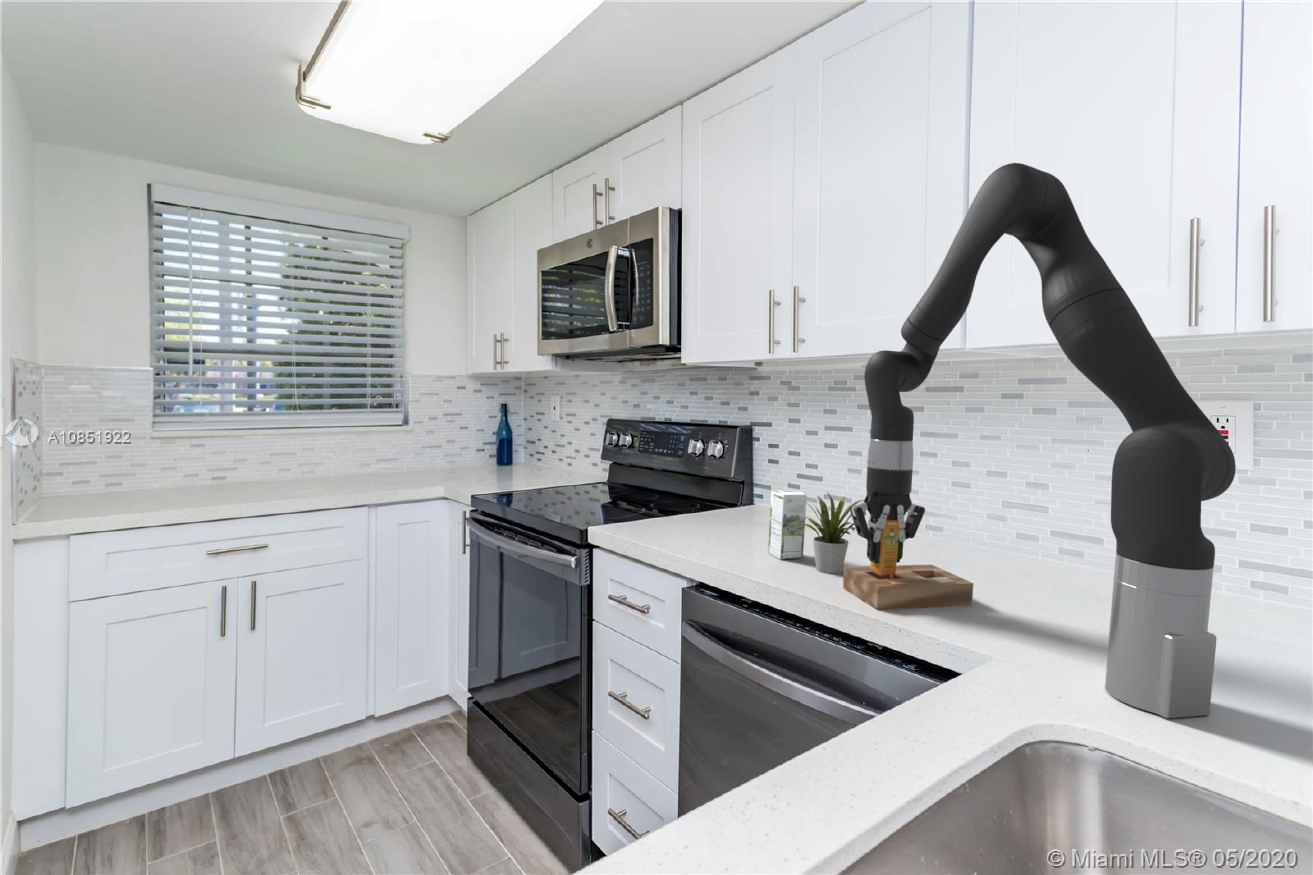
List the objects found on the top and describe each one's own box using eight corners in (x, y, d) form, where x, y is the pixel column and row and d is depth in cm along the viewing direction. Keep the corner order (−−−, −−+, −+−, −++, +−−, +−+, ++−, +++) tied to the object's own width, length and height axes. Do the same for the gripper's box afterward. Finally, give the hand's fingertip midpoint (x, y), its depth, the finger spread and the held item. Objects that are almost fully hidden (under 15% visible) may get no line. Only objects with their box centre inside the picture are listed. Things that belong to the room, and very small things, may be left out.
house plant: (886, 573, 131) (890, 493, 129) (845, 585, 122) (849, 499, 121) (827, 558, 142) (831, 484, 141) (786, 567, 133) (789, 489, 132)
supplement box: (881, 576, 113) (884, 520, 112) (869, 571, 116) (872, 516, 115) (897, 575, 114) (900, 519, 113) (885, 570, 117) (888, 515, 116)
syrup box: (790, 552, 146) (793, 488, 145) (804, 559, 141) (807, 493, 140) (767, 553, 144) (770, 489, 143) (780, 560, 139) (783, 493, 138)
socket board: (971, 605, 112) (973, 582, 112) (876, 609, 109) (878, 585, 108) (930, 585, 124) (931, 563, 123) (843, 587, 120) (844, 565, 120)
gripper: (863, 467, 109) (858, 568, 110) (939, 468, 111) (933, 566, 112) (842, 462, 116) (837, 557, 117) (914, 463, 119) (908, 555, 120)
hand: (884, 561), depth 115 cm, fingers closed on supplement box, 3 cm apart
